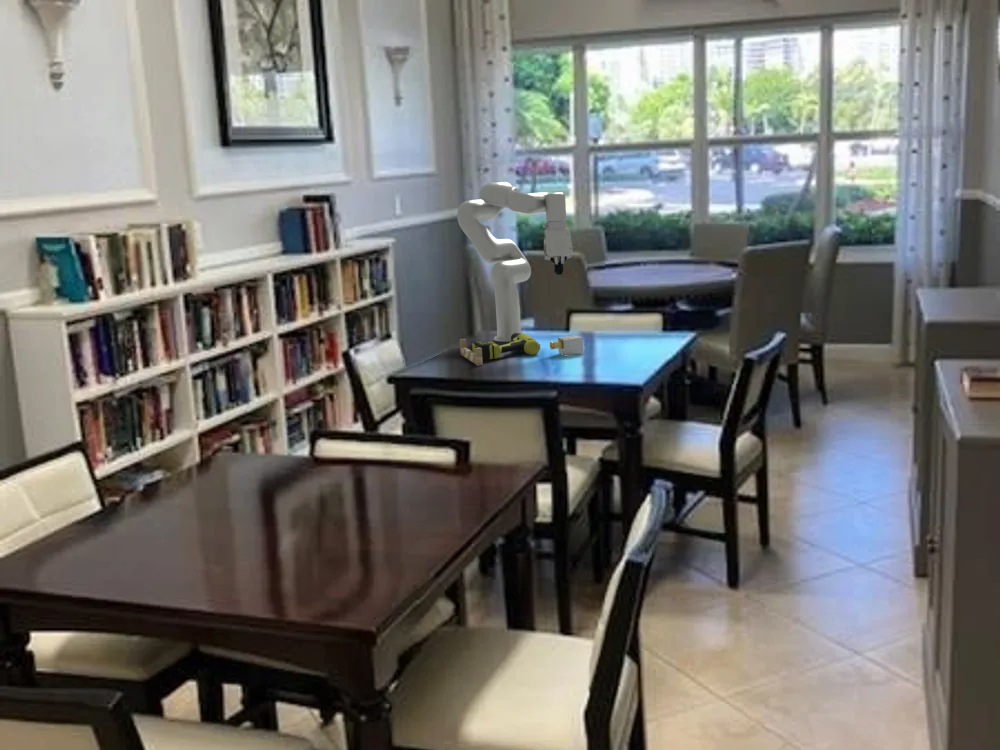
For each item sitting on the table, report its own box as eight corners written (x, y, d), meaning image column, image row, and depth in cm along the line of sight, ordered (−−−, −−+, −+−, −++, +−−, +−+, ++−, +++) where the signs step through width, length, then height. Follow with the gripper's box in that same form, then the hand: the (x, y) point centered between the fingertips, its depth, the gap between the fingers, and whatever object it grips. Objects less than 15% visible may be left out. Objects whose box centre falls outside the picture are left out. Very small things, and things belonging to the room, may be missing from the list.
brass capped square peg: (550, 348, 382) (549, 341, 381) (575, 346, 384) (574, 338, 384) (552, 350, 379) (552, 342, 379) (577, 347, 382) (577, 339, 381)
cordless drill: (460, 351, 400) (522, 344, 407) (479, 364, 377) (544, 356, 384) (459, 333, 399) (521, 327, 406) (478, 345, 376) (543, 338, 383)
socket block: (558, 353, 385) (557, 337, 384) (576, 351, 387) (575, 335, 386) (565, 356, 379) (564, 339, 378) (583, 354, 381) (582, 337, 379)
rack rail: (460, 355, 394) (459, 339, 393) (465, 354, 395) (464, 338, 393) (477, 365, 372) (476, 348, 370) (482, 364, 372) (481, 348, 371)
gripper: (541, 227, 388) (543, 277, 392) (578, 224, 392) (581, 273, 396) (534, 226, 395) (537, 275, 399) (571, 223, 399) (574, 271, 403)
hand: (559, 274), depth 398 cm, fingers closed
